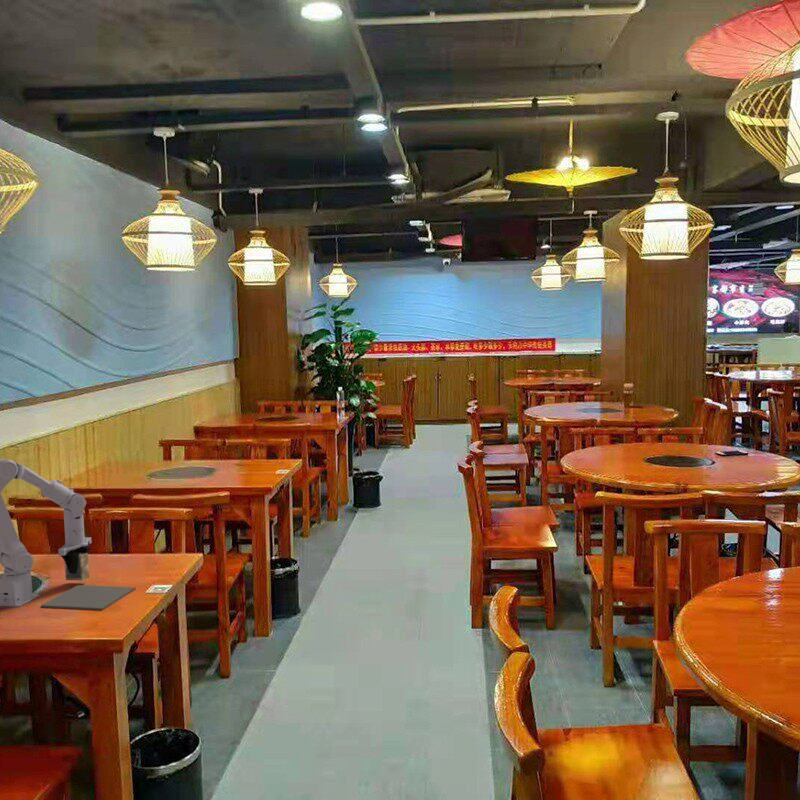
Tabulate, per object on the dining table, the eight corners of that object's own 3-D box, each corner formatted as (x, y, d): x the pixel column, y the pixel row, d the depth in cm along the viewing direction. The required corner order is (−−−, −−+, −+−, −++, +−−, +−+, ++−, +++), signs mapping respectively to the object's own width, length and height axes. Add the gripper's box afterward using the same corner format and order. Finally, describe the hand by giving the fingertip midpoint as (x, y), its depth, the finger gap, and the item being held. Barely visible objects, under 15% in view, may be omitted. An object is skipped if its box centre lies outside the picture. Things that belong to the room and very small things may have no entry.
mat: (102, 610, 218) (102, 608, 218) (41, 607, 222) (40, 605, 222) (135, 589, 236) (135, 587, 236) (77, 586, 240) (77, 585, 239)
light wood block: (82, 580, 240) (80, 556, 240) (65, 580, 241) (64, 555, 241) (89, 577, 244) (87, 553, 243) (72, 576, 245) (71, 552, 244)
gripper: (71, 535, 233) (74, 578, 235) (98, 524, 248) (101, 564, 249) (51, 535, 235) (54, 577, 236) (79, 523, 249) (81, 564, 250)
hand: (76, 571), depth 242 cm, fingers closed on light wood block, 4 cm apart
